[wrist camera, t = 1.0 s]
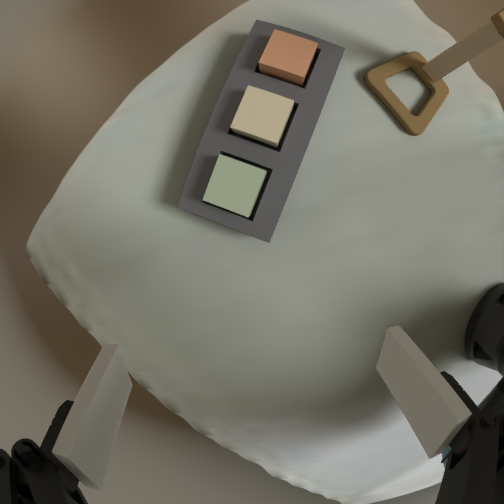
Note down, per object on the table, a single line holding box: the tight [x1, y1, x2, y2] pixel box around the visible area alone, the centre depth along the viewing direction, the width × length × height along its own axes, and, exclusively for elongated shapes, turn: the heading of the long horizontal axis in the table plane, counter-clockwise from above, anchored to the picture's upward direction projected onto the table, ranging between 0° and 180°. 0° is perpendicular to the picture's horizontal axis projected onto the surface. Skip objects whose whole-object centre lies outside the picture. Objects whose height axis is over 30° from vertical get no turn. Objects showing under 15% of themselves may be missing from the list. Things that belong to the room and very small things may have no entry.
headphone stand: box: [364, 8, 504, 136], centre depth 18 cm, size 10×11×22 cm
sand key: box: [230, 85, 294, 148], centre depth 27 cm, size 5×5×3 cm
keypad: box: [177, 20, 345, 243], centre depth 30 cm, size 25×11×4 cm, turn 159°
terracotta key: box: [258, 29, 318, 87], centre depth 25 cm, size 5×5×3 cm
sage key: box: [203, 154, 267, 217], centre depth 29 cm, size 5×5×3 cm
